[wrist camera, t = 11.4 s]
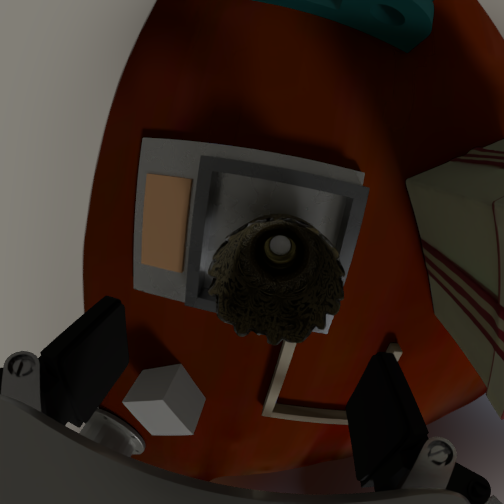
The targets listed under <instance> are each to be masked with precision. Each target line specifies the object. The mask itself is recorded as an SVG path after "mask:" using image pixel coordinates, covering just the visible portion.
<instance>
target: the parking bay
mask: <svg viewBox="0 0 504 504" xmlns="http://www.w3.org/2000/svg"><path fill="white" fill-rule="evenodd" d="M295 346H296V343H289V342H287V341H285V340H283V344H282V347H281V351H280V354H279V357H278V361H277V364H276V367H275V370H274V374H273V377H272V380H271V383H270V386H269V390H268V393H267V396H266V399H265V402H264V405H263V411H262V416H267V417H274V418H281V419H288V420H296V421H305V422H315V423H328V424H346V425H348V420H347V415H346V411H341V410H328V409H317V408H307V407H299V406H291V405H284V404H277V403H276V401H277V398H278V395H279V392H280V390H281V387H282V384H283V381H284V378H285V375H286V373H287V370H288V367H289V364H290V361H291V358H292V355H293V352H294V349H295ZM386 352H387V353H393V354H394V355H395V357H396V360H397V362H398V360H399V358H400V356H401V354H402V350H401V348H400V346H399V344H398V343H390V344H389V346H388V349H387V351H386Z"/></svg>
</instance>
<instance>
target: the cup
mask: <svg viewBox="0 0 504 504" xmlns="http://www.w3.org/2000/svg"><path fill="white" fill-rule="evenodd" d="M276 236H285V237H286V238H288V239H289V241H290V244H291V247H290V250H289V252H288V253H287V254H285V255H281V256H280V255H276V254H274V253H273V252H272V251H271V249H270V242H271V240H272V239H273V238H274V237H276ZM225 240H226V241H225V242H223V243H222V244H221V245H220V247H219V248H218V250H217V251H216V252H215V254H214V255H213V258H212V259H213V261H212V262H211V264H210V267H209V269H208V276H210V277H211V278H213V280H212V283H211V285H210V286H209V288H208V293H209V295H212V296H213V297H215V299H216V304H215V308H216V313H217V316H218V318H219V319H220V320H221V321H223V322H225V323H228V324H232V325H234V331H235V332H236V334H237V335H238V336H245V335H247V334H249V332H250V331H249V330H251V331H254V332H255V333H256V334H257V335H261V334H262V335H266V336H267V339H268V340H267V342H268V343H269V344H272V345H277V344H279V343H280V342H281V341H282V340H285V341H287V342H289V343H301V342H303V341H304V340H305V339H306V338H307V337H308V336H309V335H310V333H311V332H312V330H313V329H314V328H316V327H317V328H318V329H317V330H324V329H325V327H326V314H327V313H328V315H333V316H334V315H336V314H337V313H338V311H339V308H340V301H341V300H343V299H344V291H343V281H342V277H343V278H344V276H345V271H344V268H343V266H342V265H341V262H340V256H339V253H338V251H337V249H336V248H335V247H334V245H333V244H332V243H331V242H330V241H329V240H328V239H327V238H326V237H325V236H324V235H323V234H322V233H320V231H318V230H317V229H316V228H315V227H314V226H312V225H311V224H310V223H308V222H307V221H305V220H303V219H301V218H299V217H296V216H293V215H289V214H281V213H276V214H268V215H264V216H260V217H258V218H256V219H253V220H252V221H250V222H248V223H246V224H245V225H243V226H241V227H240V228H238V229H237V230H235V231H233V232H232V233H230V234H229V235H228V236H227V237H226V238H225ZM214 295H215V296H214Z"/></svg>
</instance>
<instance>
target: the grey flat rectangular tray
mask: <svg viewBox="0 0 504 504" xmlns="http://www.w3.org/2000/svg"><path fill="white" fill-rule="evenodd" d="M364 175H365V173H363V172H359V171H355V170H351V169H347V168H343V167H339V166H335V165H331V164H327V163H323V162H318V161H314V160H309V159H304V158H299V157H294V156H289V155H284V154H279V153H273V152H268V151H262V150H256V149H249V148H243V147H236V146H229V145H221V144H213V143H204V142H195V141H185V140H173V139H160V138H143V139H142V146H141V154H140V162H139V171H138V181H137V193H136V206H135V225H134V289H136V290H140V291H144V292H147V293H151V294H155V295H158V296H162V297H166V298H170V299H174V300H178V301H181V302H185V305H186V306H191V307H195V308H199V309H203V310H207V311H211V312H216V308H215V304H216V299H215V297H213V296H212V295H209V293H208V288H209V286H210V285H211V283H212V280H213V278H211V277H210V276H208V269H209V267H210V264H211V262H212V261H213V259H212V258H213V255H214V254H215V252H216V251H217V250H218V248H219V247H220V245H221V244H222V243H223V242H225V241H226V240H225V238H226V237H227V236H228V235H229V234H230V233H232V232H233V231H235V230H237V229H238V228H240V227H241V226H243V225H245V224H246V223H248V222H250V221H252V220H253V219H256V218H258V217H260V216H264V215H268V214H276V213H281V214H289V215H293V216H296V217H299V218H301V219H303V220H305V221H307V222H308V223H310V224H311V225H312V226H314V227H315V228H316V229H317V230H318V231H320V233H322V234H323V235H324V236H325V237H326V238H327V239H328V240H329V241H330V242H331V243H332V244H333V245H334V247H335V248H336V249H337V251H338V253H339V256H340V262H341V265H342V266H343V268H344V271H345V276H344V278H343V277H342V281H343V286H344V283H345V280H346V277H347V273H348V270H349V267H350V263H351V260H352V256H353V253H354V249H355V246H356V242H357V238H358V235H359V231H360V227H361V223H362V219H363V215H364V211H365V206H366V202H367V198H368V193H369V189H370V188H368V187H365V186H362V185H363V180H364ZM290 247H291V244H290V241H289V239H288V238H286V237H285V236H276V237H274V238H273V239H272V240H271V242H270V249H271V251H272V252H273V253H274V254H276V255H280V256H281V255H285V254H287V253H288V252H289V250H290ZM214 296H215V295H214ZM332 319H333V315H328V313H327V314H326V327H325V329H324V330H317V329H318V328H317V327H316V328H314V329H313V330H312V332H318V333H325V334H327V333H328V330H329V328H330V325H331V322H332Z"/></svg>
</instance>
